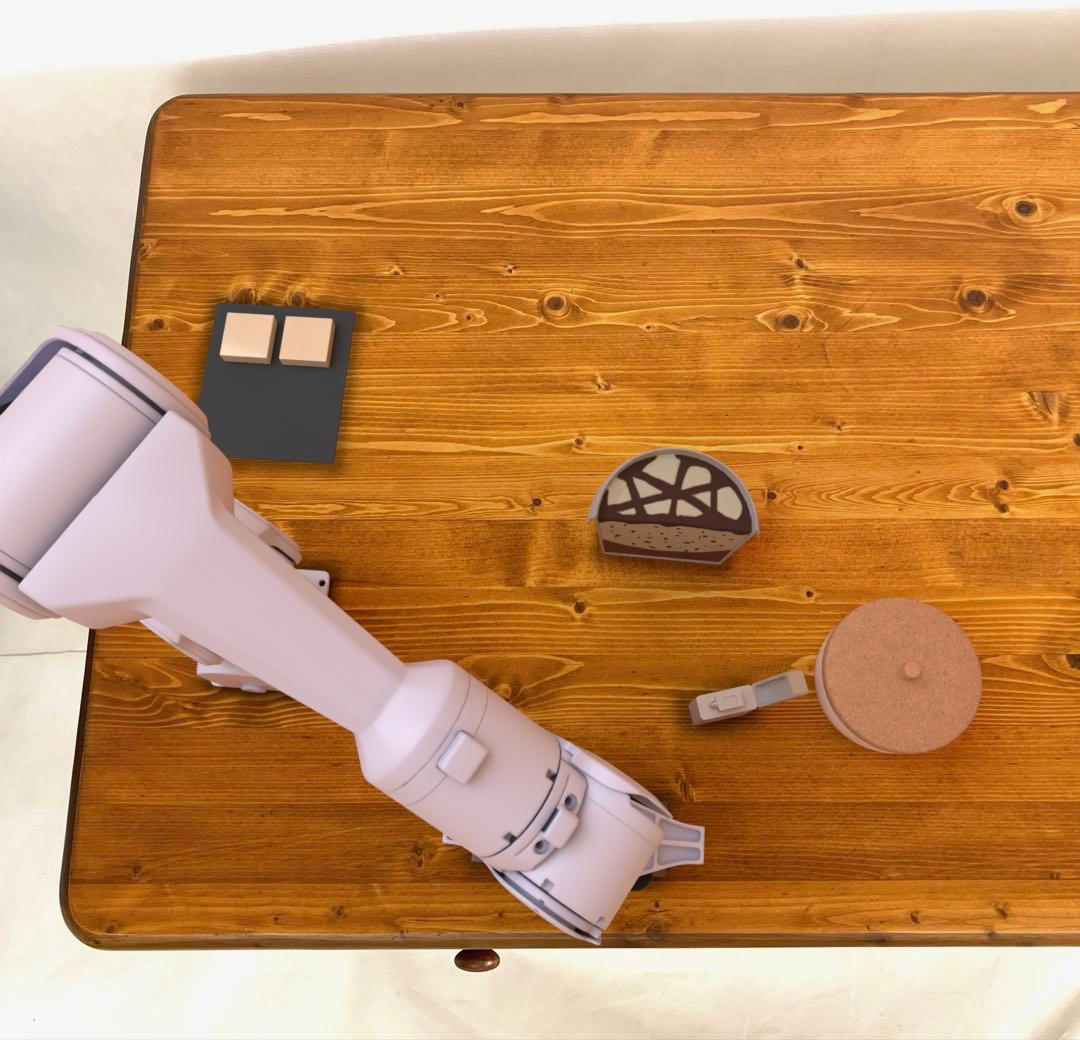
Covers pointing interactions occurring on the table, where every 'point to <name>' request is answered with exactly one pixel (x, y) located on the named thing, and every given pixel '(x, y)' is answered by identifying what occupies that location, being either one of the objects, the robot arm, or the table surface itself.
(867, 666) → the trinket box
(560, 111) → the table surface
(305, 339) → the chip right
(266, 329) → the chip left
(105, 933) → the table surface
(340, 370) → the mat
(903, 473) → the table surface
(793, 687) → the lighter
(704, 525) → the brown half-round block
